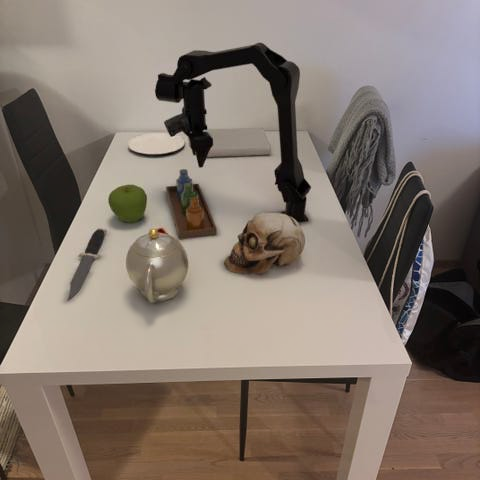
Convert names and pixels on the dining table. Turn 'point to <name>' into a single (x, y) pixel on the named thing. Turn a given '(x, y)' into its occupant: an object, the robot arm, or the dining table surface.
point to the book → (238, 142)
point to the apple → (128, 203)
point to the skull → (266, 244)
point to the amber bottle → (195, 215)
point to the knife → (86, 261)
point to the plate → (156, 143)
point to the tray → (181, 219)
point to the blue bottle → (182, 182)
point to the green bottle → (187, 196)
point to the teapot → (157, 265)
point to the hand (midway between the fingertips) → (197, 161)
